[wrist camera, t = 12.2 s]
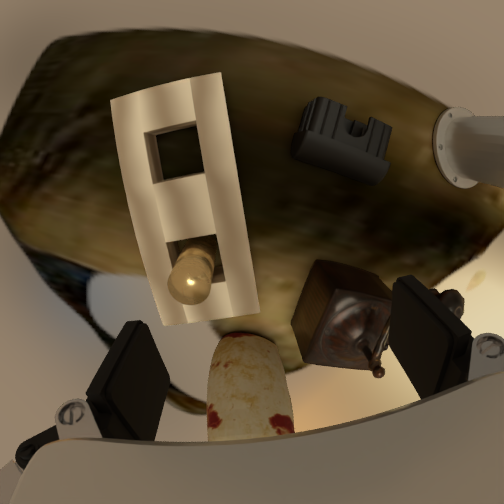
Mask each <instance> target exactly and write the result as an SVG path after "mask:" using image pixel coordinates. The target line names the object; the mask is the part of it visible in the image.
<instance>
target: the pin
mask: <svg viewBox="0 0 504 504" xmlns="http://www.w3.org/2000/svg"><path fill="white" fill-rule="evenodd" d="M216 252H217V244H216V241H215V240H214V238H213V237H212V236H211V235H205V236H199V237H194V238H188V239H187V241H186V243H185V245H184V247H183V249H182V251H181V253H180V255H179V257H178V259H177V261H176V263H175V265H174V267H173V269H172V271H171V273H170V275H169V278H168V282H167V286H168V290H169V292H170V294H171V296H172V297H173V298H174V299H175V300H176V301H178V302H180V303H182V304H185V305H197V304H200V303H202V302H203V301H204V300H206V298H207V297H208V296H209V294H210V291H211V284H212V277H213V271H214V264H215V258H216Z"/></svg>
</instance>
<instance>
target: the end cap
mask: <svg viewBox="0 0 504 504" xmlns="http://www.w3.org/2000/svg"><path fill="white" fill-rule="evenodd" d="M346 109H347V106H345V105H342V104H340V103H337V102H335V101H332V100H330V99H327V98H324V97H317V98H315V99H314V100H313V101H311V102H308V105H307V106H306V107H305V109H304V112H303V116H302V119H301V123H300V126H299V130H298V132H297V133H294V137H293V141H292V147H291V155H292V158H294V159H296V160H299V161H303V162H306V163H309V164H312V165H315V166H318V167H321V168H324V169H327V170H329V171H332V172H335V173H338V174H341V175H344V176H346V177H349V178H352V179H354V180H357V181H360V182H362V183H365V184H368V185H371V186H373V185H376V184H378V183H379V182H380V181H381V180H382V179H383V178H384V177H385V175H386V173H387V172H388V169H389V167H390V164H391V163H390V162H388V161H385V160H384V157H385V154H386V150H387V146H388V143H389V139H390V135H391V131H392V127H391V126H389V125H387V124H385V123H383V122H381V121H379V120H377V119H375V118H372V117H369V121H368V125H365V124H363V123H361V122H358V121H356V120H354V122H353V121H351V120H348V119H346V118H344V117H345V113H346Z"/></svg>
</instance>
